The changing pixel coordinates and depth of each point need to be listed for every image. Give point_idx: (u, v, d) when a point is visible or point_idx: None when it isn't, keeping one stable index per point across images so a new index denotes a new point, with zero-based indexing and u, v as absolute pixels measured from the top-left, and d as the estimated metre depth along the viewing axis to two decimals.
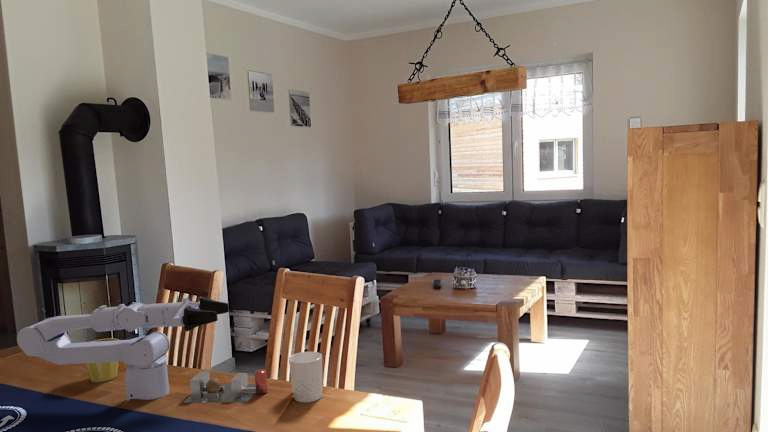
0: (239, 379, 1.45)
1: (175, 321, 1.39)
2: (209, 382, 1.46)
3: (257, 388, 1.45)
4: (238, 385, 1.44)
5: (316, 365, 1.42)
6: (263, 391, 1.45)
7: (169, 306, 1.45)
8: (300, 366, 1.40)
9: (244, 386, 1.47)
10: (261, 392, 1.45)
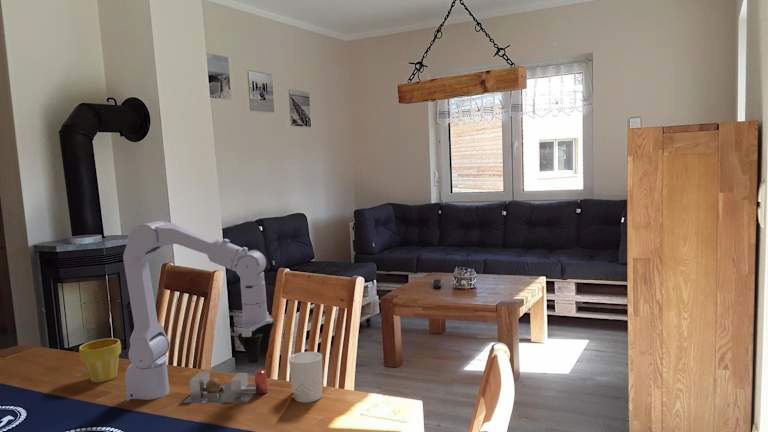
0: (239, 379, 1.45)
1: (246, 331, 1.38)
2: (209, 382, 1.46)
3: (257, 388, 1.45)
4: (238, 385, 1.44)
5: (316, 365, 1.42)
6: (263, 391, 1.45)
7: (262, 307, 1.43)
8: (300, 366, 1.40)
9: (244, 386, 1.47)
10: (261, 392, 1.45)
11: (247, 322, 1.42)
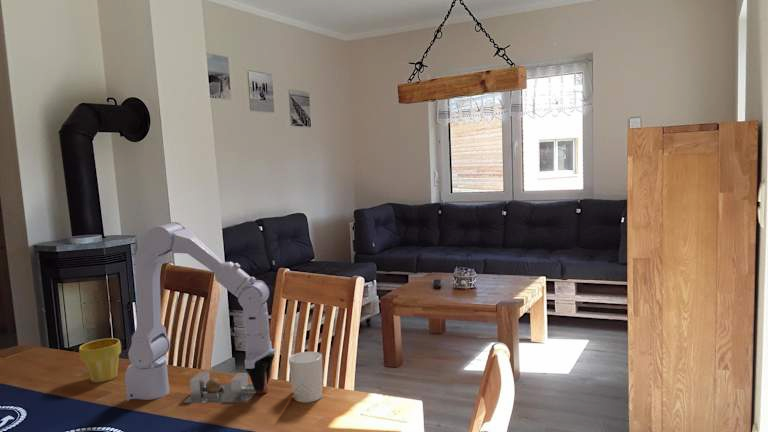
0: (239, 379, 1.45)
1: (249, 363, 1.38)
2: (209, 382, 1.46)
3: None
4: (238, 385, 1.44)
5: (316, 365, 1.42)
6: (263, 391, 1.45)
7: (265, 338, 1.43)
8: (300, 366, 1.40)
9: (244, 386, 1.47)
10: (261, 392, 1.45)
11: (250, 353, 1.43)
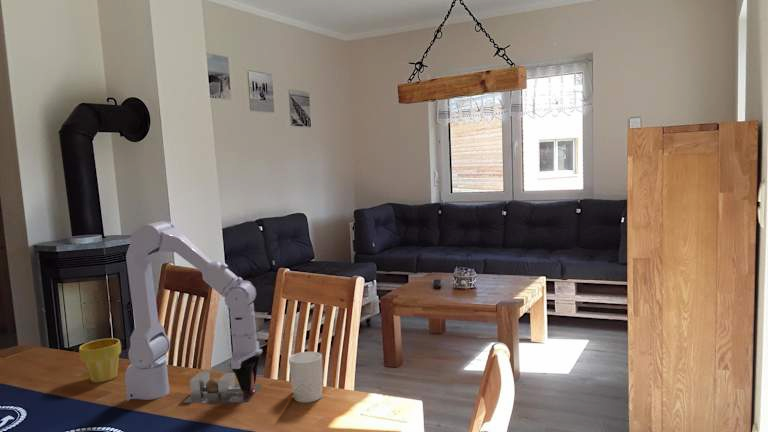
0: (226, 379, 1.45)
1: (235, 363, 1.38)
2: (209, 382, 1.46)
3: None
4: (225, 385, 1.45)
5: (316, 365, 1.42)
6: (250, 391, 1.45)
7: (252, 338, 1.44)
8: (300, 366, 1.40)
9: (231, 386, 1.47)
10: (248, 392, 1.45)
11: (236, 353, 1.43)
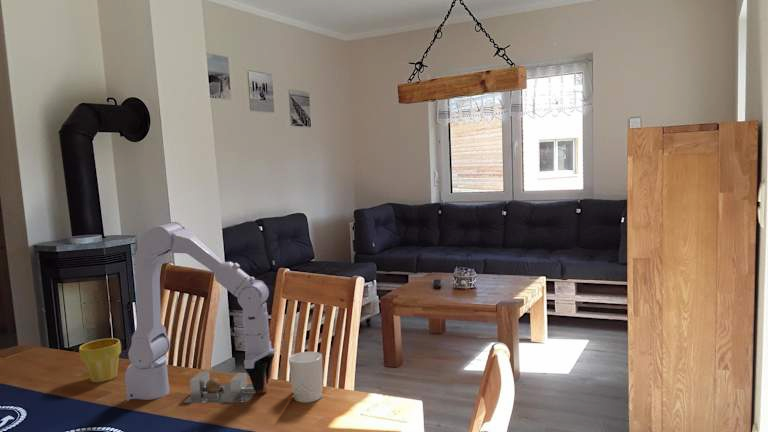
0: (238, 379, 1.45)
1: (249, 363, 1.38)
2: (209, 382, 1.46)
3: None
4: (238, 385, 1.44)
5: (316, 365, 1.42)
6: (262, 391, 1.45)
7: (265, 338, 1.43)
8: (300, 366, 1.40)
9: (243, 386, 1.47)
10: (260, 392, 1.45)
11: (249, 353, 1.43)
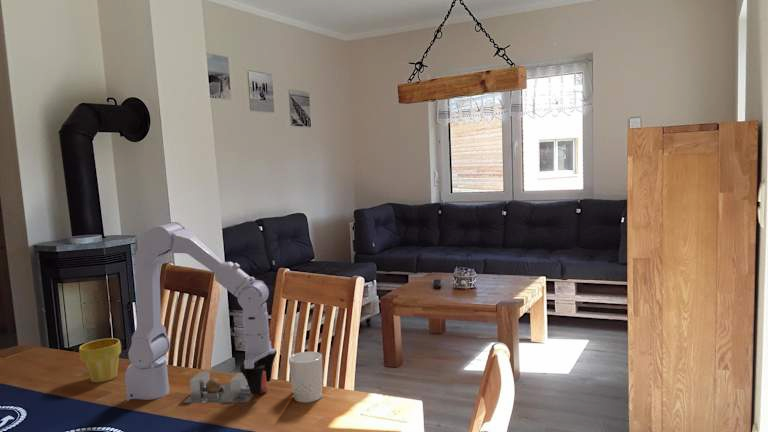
0: (239, 379, 1.45)
1: (249, 363, 1.38)
2: (209, 382, 1.46)
3: None
4: (238, 385, 1.44)
5: (316, 365, 1.42)
6: (262, 391, 1.45)
7: (265, 338, 1.43)
8: (300, 366, 1.40)
9: (244, 386, 1.47)
10: None
11: (249, 353, 1.43)
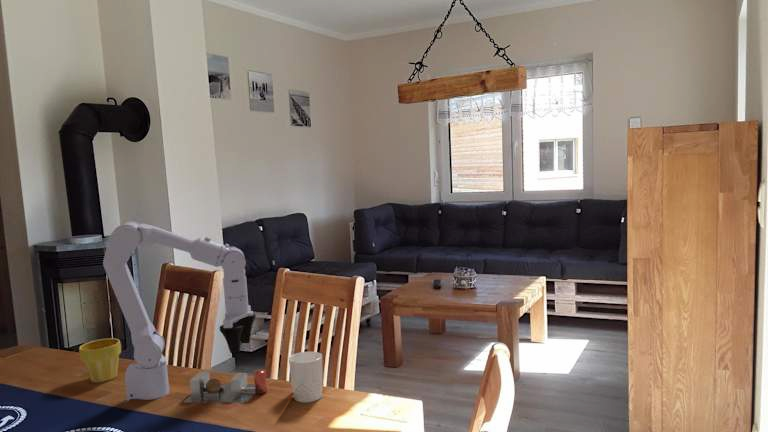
0: (239, 379, 1.45)
1: (228, 323, 1.46)
2: (209, 382, 1.46)
3: (256, 388, 1.45)
4: (238, 385, 1.44)
5: (316, 365, 1.42)
6: (262, 391, 1.45)
7: (243, 300, 1.51)
8: (300, 366, 1.40)
9: (244, 386, 1.47)
10: (260, 392, 1.45)
11: (229, 314, 1.51)
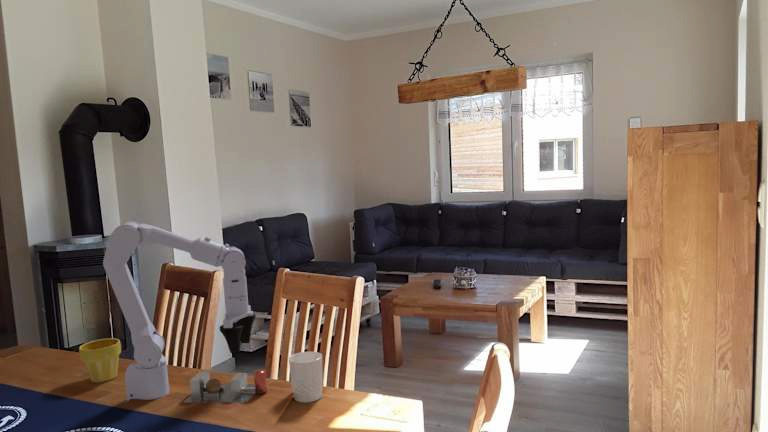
0: (239, 379, 1.45)
1: (228, 323, 1.46)
2: (209, 382, 1.46)
3: (256, 388, 1.45)
4: (238, 385, 1.44)
5: (316, 365, 1.42)
6: (262, 391, 1.45)
7: (243, 300, 1.51)
8: (300, 366, 1.40)
9: (244, 386, 1.47)
10: (260, 392, 1.45)
11: (229, 314, 1.51)
